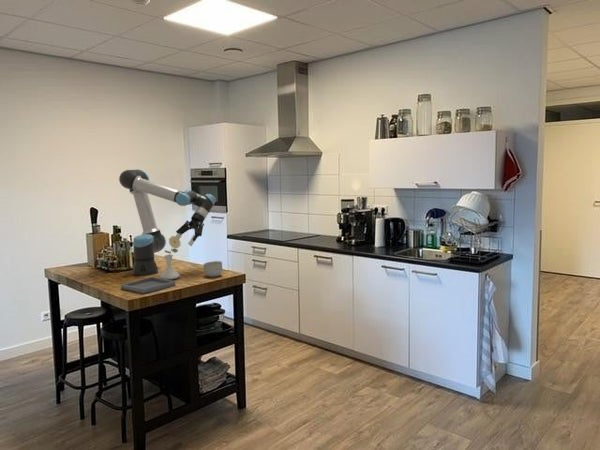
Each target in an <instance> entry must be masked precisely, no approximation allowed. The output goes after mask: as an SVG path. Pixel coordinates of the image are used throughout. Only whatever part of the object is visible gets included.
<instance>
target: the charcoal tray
mask: <svg viewBox="0 0 600 450" xmlns="http://www.w3.org/2000/svg"><path fill="white" fill-rule="evenodd" d="M172 287H176V281H175V280H165V279H161V278H160V277H154V276H150V277H147V278H143V279H139V280H134V281H130V282H126V283H122V284H120V290H122V291H123V290H124V291H127V290H128V292H131V291H133V292H132V293H136V292H137V293H136V294H140V293H141V295H146V294H147V295H148V294H150V293H154V292H158V291H161V290H166V289H169V288H172Z"/></svg>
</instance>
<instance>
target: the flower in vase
mask: <svg viewBox="0 0 600 450" xmlns="http://www.w3.org/2000/svg"><path fill="white" fill-rule="evenodd" d="M168 242H169V246H170V247H171V249H170V251H168V250H166V249H165V250H164V252H165V253H167V254H165V255H163V257H164V258H165V260H166V269H165V270H164V271H162V273H161V274H159V278H160V279H165V280H170V281H172V280H174V279H178V278H179V277H180V275H181V274H180V273H179V272H178V271H177V270H176V269H174V268H173V267H172V258H173V257H174V255H173V254H171V253H174V254H175V253H177V252H179V250H178V249H179V248H180V246H181V245H182V244H181V239H177V237H176V235H171V236H170V237H169V238H168Z"/></svg>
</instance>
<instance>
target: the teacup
mask: <svg viewBox="0 0 600 450" xmlns="http://www.w3.org/2000/svg"><path fill="white" fill-rule="evenodd" d="M203 269H204V274H205V275H206V276H207V277H209V278H215V277H216V278H217V277H219V276H221V274H222V273H223V262H222V261H221V260H220V261H219V260H214V261H209V262H204V263H203Z"/></svg>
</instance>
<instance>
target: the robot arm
mask: <svg viewBox="0 0 600 450" xmlns="http://www.w3.org/2000/svg"><path fill="white" fill-rule="evenodd" d="M118 180H119V183H120V185H121V186H122V187H123V188H125V189H127V190H129V193H130V194H132V195H133V198H134V202H135V206H136V210H137V213H138V217H139V220H140V224H141V227H142V233H141V234H139V235H136V236H134V238H133V239H132V241H133V243H132V245H133V257H134V259H133V260H134V262H133V268H132V271H131V273H132V275H133V276H135V277H141V276H142V277H143V276H144V277H145V276H146V277H147V276H152V275H156V274H158V273H159V268H158V265H157V263H156V260H155V253H159V252H161V251H162V250H164V249H165V247H166V245H167V239H166V237H165V236H164V234H162V232H161V229H160V228H158V226H157V223H156V219H155V215H154V212H153V209H152V205H151V202H150V197H149V195H151V196H155V197H158V198H161V199H163V200H168V201H170V202H173V203H176V204H177V205H178V206H181V207H186V206H188V205H192V206H193V205H194V206H197V208H196V209H195V211H194V212H193V214H192V216H191V219H190V221H189V220H186V221H185V223H184V224H182V225H181V226H180V227H179V228H178V229H177V230H176V231H175V233H176V235H175V237H177V239H179V240H181V238H182V235H183V234H185V233H186V232H188V231H189V230H193V231H194V234H192V236H191V238H190V239H189V241H188V242H187V244H188V245H189V246H190V247H192V246H193V244H194V243H195V242H196V241H197V239H198V238H199V237H202V235H203V230H204V226H205V223H204V221H205V219H206V218H207V216H208V215H209V213H210V211H211V210H212V208H213V207H214V205H215V203H216V202H217V201H216V200H217V199H216V197H215V196H214V195H212V194H210V193H206V194H205V195H202V194H200V193H197V192H196V191H193V190H191V189H189V188H188V189H185V191H181V190H179V189H175V188H172V187H169V186H166V185H163V184H162V183H161V184H160V183H157V182H154V181H153V180H152V181H151V180H150V178H149V175H148V174H147V172H145V171H144V170H141V169H126V170H124V171H122V172H121V173H120V175H119V177H118Z"/></svg>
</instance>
